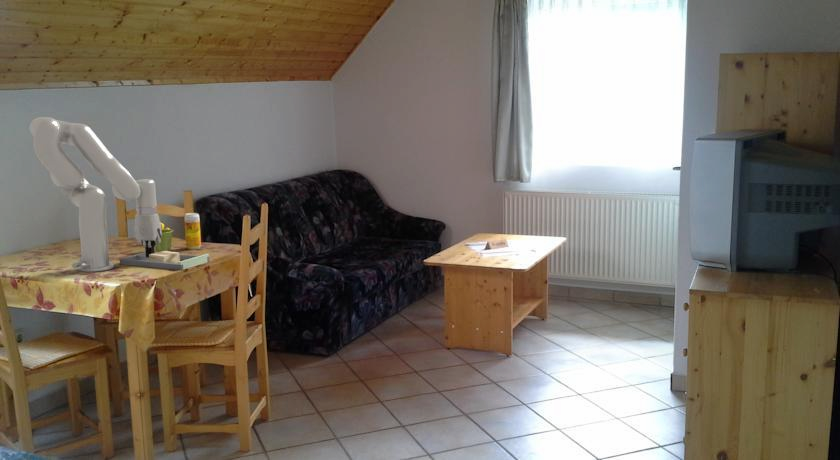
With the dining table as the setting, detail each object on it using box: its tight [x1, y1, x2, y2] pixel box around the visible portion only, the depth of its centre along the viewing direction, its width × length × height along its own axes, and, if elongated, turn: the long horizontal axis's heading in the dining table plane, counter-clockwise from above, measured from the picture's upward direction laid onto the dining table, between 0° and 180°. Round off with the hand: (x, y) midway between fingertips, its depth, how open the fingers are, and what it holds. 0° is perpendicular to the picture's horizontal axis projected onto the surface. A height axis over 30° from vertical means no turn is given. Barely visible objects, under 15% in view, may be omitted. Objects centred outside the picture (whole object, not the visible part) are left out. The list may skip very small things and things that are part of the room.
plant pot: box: [154, 228, 174, 252], centre depth 322 cm, size 9×9×9 cm
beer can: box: [184, 212, 202, 250], centre depth 328 cm, size 6×6×15 cm
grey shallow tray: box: [119, 251, 210, 271], centre depth 300 cm, size 16×30×3 cm, turn 67°
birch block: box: [148, 250, 181, 264], centre depth 300 cm, size 8×8×4 cm
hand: (150, 256), depth 303 cm, fingers closed
